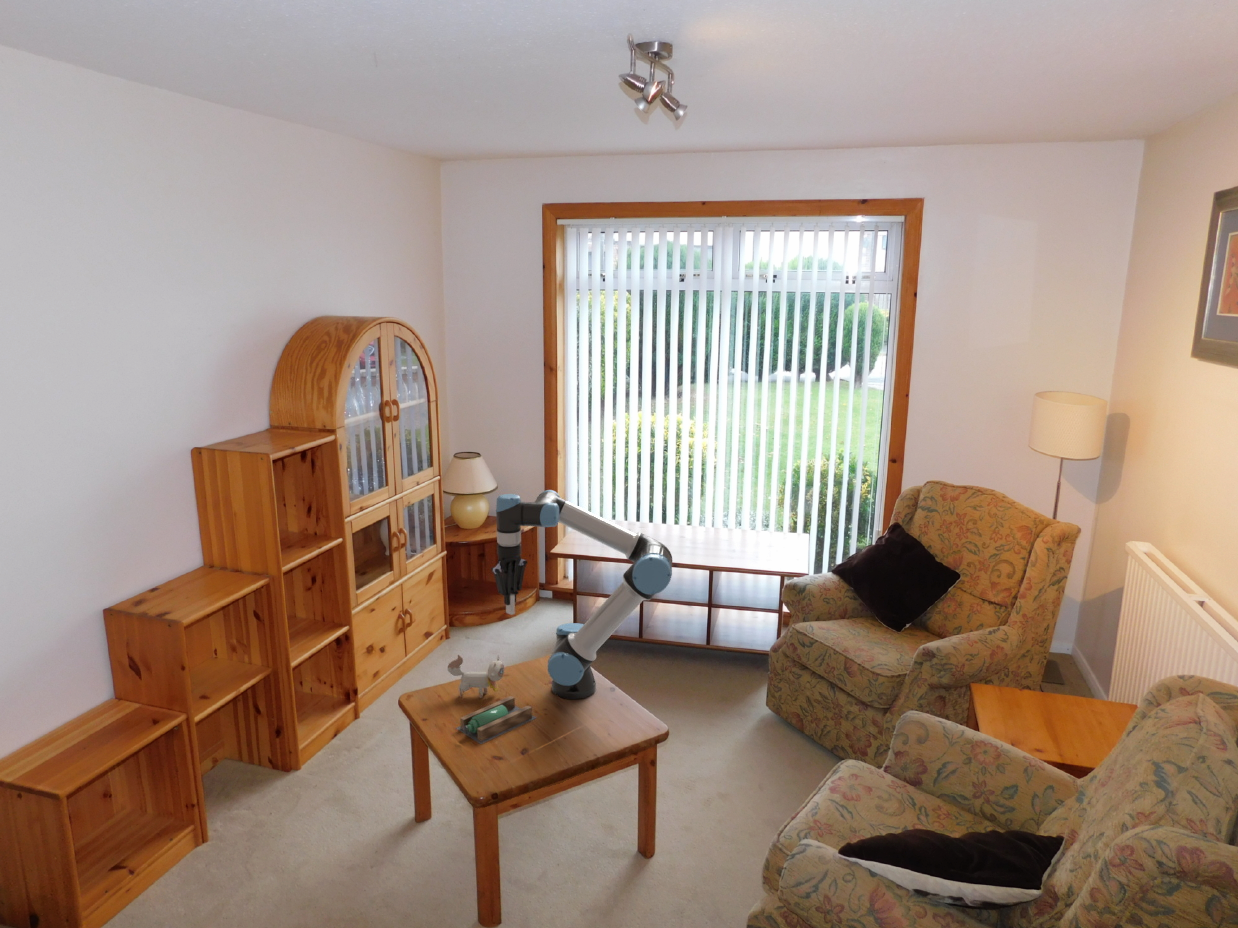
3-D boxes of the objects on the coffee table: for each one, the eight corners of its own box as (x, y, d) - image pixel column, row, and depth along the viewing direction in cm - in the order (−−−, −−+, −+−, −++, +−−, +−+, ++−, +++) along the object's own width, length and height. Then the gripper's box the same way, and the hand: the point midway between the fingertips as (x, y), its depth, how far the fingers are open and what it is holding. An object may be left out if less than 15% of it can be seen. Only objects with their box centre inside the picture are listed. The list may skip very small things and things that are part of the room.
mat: (511, 704, 274) (511, 703, 274) (536, 718, 265) (536, 717, 265) (455, 729, 259) (455, 727, 259) (480, 745, 250) (480, 744, 250)
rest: (511, 705, 272) (511, 695, 272) (532, 717, 265) (531, 707, 264) (460, 728, 258) (460, 717, 258) (481, 741, 251) (480, 730, 250)
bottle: (499, 701, 263) (460, 717, 253) (509, 711, 260) (470, 728, 250) (497, 715, 265) (459, 731, 255) (507, 724, 262) (468, 742, 252)
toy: (502, 703, 275) (501, 661, 271) (445, 702, 275) (443, 660, 272) (506, 690, 283) (505, 649, 280) (451, 689, 284) (449, 648, 280)
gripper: (517, 536, 269) (518, 604, 274) (485, 544, 260) (487, 615, 265) (532, 541, 264) (533, 610, 269) (500, 550, 255) (501, 622, 260)
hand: (510, 613), depth 267 cm, fingers closed
